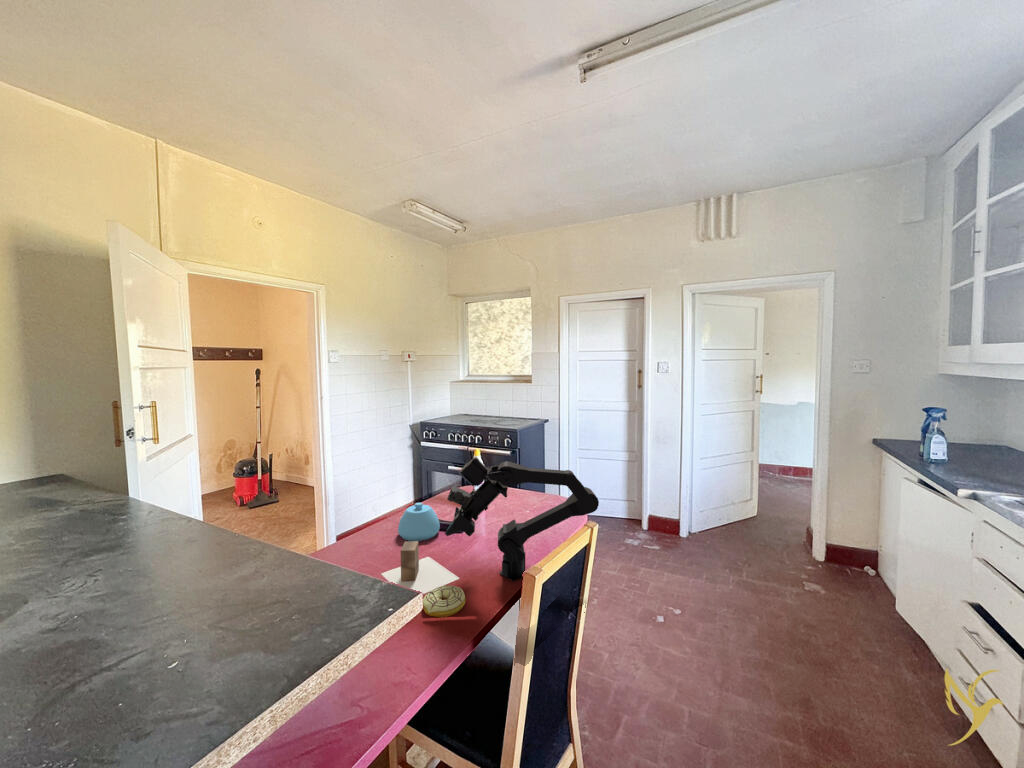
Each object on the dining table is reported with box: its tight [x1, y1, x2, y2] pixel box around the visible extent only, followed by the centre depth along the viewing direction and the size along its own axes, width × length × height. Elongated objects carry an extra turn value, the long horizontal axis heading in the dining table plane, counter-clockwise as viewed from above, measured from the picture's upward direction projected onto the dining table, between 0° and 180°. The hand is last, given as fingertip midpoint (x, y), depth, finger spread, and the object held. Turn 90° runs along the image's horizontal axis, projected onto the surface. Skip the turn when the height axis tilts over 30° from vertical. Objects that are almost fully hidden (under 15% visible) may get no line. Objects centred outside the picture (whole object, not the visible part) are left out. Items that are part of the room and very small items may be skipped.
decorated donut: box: [422, 584, 466, 619], centre depth 103 cm, size 10×11×4 cm
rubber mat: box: [380, 556, 461, 595], centre depth 117 cm, size 16×18×1 cm
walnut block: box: [400, 540, 420, 582], centre depth 117 cm, size 4×6×9 cm, turn 3°
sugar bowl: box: [397, 502, 441, 542], centre depth 148 cm, size 15×15×12 cm
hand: (446, 534), depth 118 cm, fingers closed
